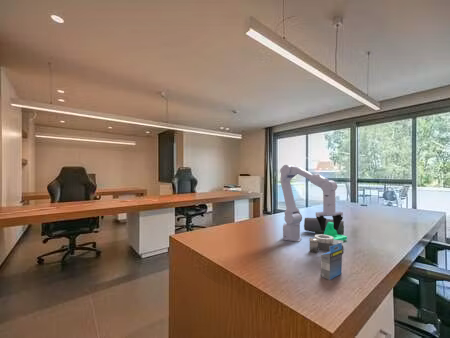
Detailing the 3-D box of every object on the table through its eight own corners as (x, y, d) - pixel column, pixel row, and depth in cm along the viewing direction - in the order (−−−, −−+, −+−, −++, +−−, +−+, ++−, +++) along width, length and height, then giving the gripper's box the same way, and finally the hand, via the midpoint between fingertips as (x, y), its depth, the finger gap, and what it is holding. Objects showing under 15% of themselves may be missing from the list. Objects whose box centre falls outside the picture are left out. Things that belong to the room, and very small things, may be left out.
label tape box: (332, 270, 89) (332, 239, 90) (342, 274, 86) (342, 242, 86) (320, 276, 84) (319, 243, 84) (330, 280, 81) (330, 246, 81)
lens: (308, 252, 111) (308, 239, 111) (310, 249, 114) (309, 237, 114) (318, 253, 109) (317, 241, 109) (318, 250, 112) (318, 238, 113)
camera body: (312, 248, 116) (312, 237, 116) (314, 243, 124) (314, 233, 124) (343, 252, 109) (343, 241, 110) (343, 247, 117) (343, 236, 118)
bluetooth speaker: (344, 234, 141) (343, 219, 142) (343, 238, 133) (343, 221, 133) (306, 230, 152) (306, 215, 153) (303, 233, 144) (303, 218, 145)
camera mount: (335, 244, 123) (334, 225, 123) (322, 240, 130) (322, 223, 130) (347, 240, 129) (347, 223, 129) (335, 237, 136) (335, 220, 136)
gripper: (321, 205, 110) (321, 232, 110) (347, 204, 113) (347, 231, 113) (313, 203, 117) (313, 229, 117) (337, 202, 120) (337, 228, 120)
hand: (329, 230), depth 115 cm, fingers open, 7 cm apart
